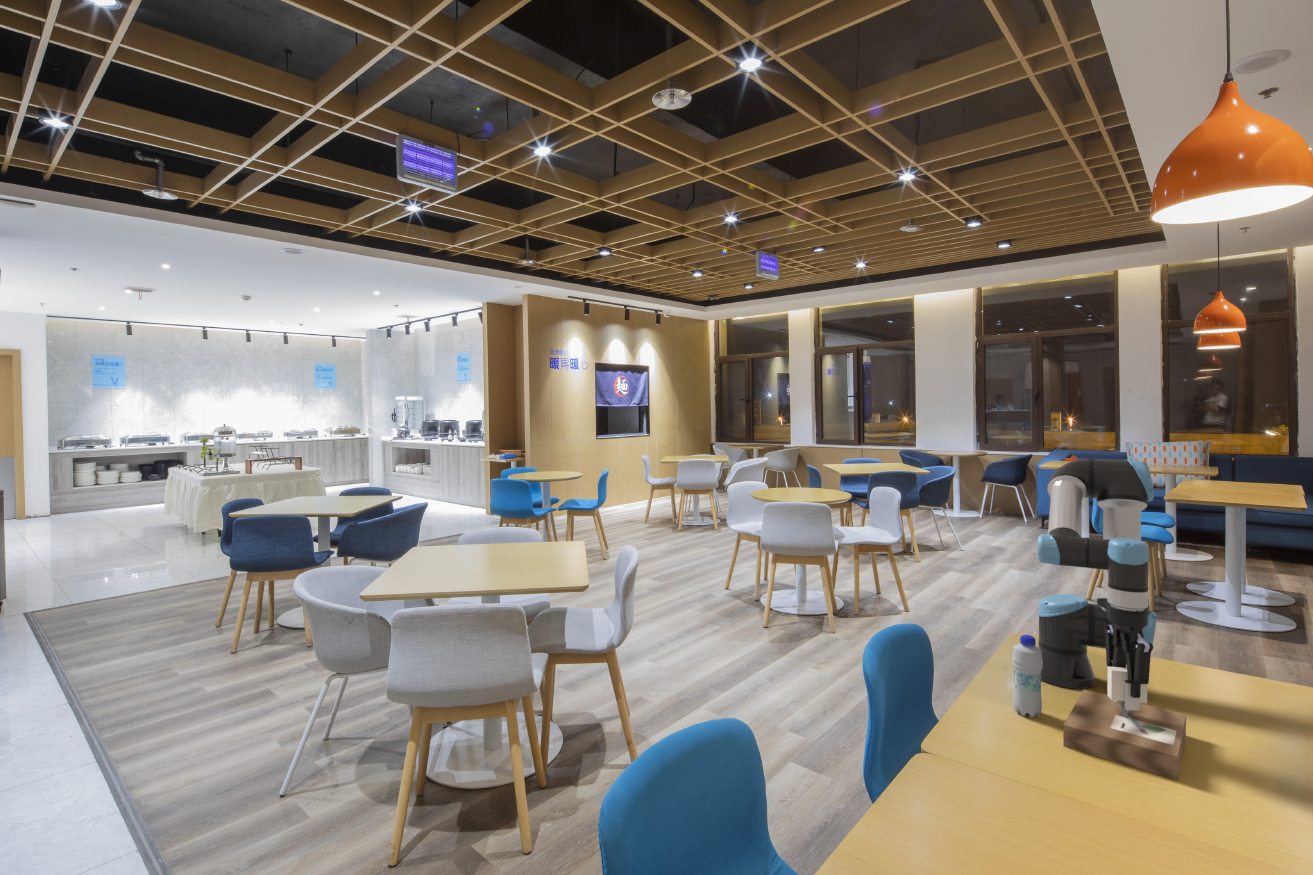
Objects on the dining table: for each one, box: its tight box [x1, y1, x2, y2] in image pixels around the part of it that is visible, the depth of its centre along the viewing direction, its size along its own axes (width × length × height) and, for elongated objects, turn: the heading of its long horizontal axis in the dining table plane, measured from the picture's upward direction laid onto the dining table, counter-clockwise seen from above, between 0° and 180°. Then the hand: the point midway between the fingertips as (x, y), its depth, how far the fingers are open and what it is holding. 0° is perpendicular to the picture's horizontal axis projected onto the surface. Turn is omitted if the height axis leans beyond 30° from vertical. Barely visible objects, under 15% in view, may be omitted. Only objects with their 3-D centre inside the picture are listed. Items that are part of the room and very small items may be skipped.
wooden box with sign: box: [1062, 689, 1187, 781], centre depth 144 cm, size 20×24×5 cm
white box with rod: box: [1106, 666, 1148, 731], centre depth 142 cm, size 7×9×11 cm
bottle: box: [1011, 634, 1043, 718], centre depth 157 cm, size 7×7×20 cm
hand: (1126, 705), depth 145 cm, fingers closed on white box with rod, 3 cm apart
